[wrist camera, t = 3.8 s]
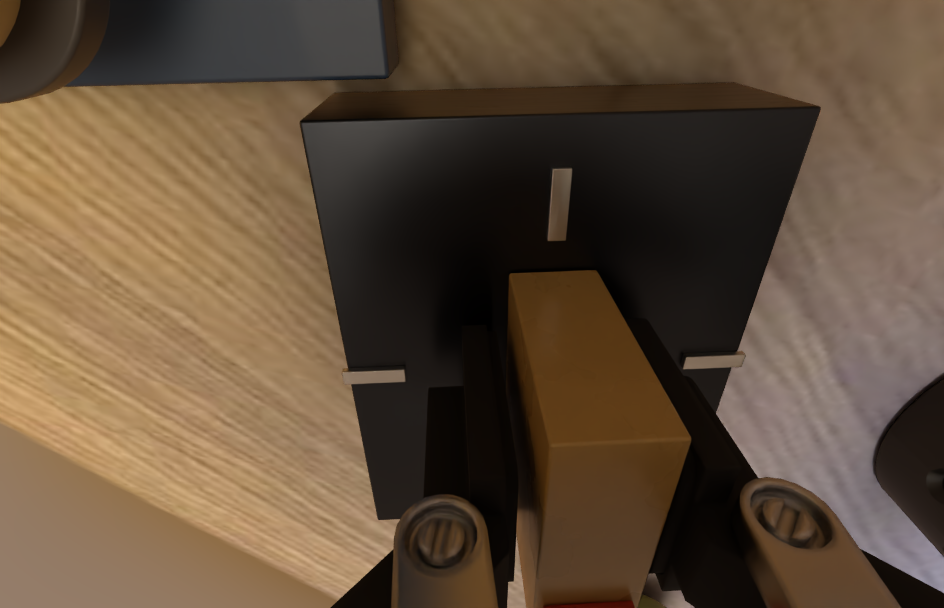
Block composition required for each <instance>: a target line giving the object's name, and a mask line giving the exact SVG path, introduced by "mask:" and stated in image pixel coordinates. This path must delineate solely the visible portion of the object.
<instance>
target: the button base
mask: <svg viewBox="0 0 944 608" xmlns="http://www.w3.org/2000/svg"><path fill="white" fill-rule="evenodd" d="M398 63H399V57H398V46H397V35H396V23H395V12H394V0H110V8H109V18H108V22H107V27H106V31H105V35H104V37H103V40H102V42H101V45H100V47H99V50H98V52H97V53H96V55H95V56H94V58H93V60H92V61H91V63H90V64H89V66H88V67H87V68H86V69H85V70H84V71H83V72H82V73H81V74H80V75H79V76H78V77H77V78H76V79H74V80H73V81H71V82H70V83H69V84H67V85H66V86H64V87H77V86H117V85H157V84H197V83H237V82H277V81H317V80H357V79H386V78H388V77H389V76H390V75H391V73H392V72H393V71H394V69H395V68H396V67H397V65H398Z"/></svg>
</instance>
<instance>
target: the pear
mask: <svg viewBox="0 0 944 608" xmlns="http://www.w3.org/2000/svg"><path fill="white" fill-rule="evenodd" d="M638 608H667V607H665V606H664V605H663V604H661V603H660V602H658V601H656V600H655V599H653V598H650V597H648V596H645V595H642V596H641V599H640V602H639V605H638Z"/></svg>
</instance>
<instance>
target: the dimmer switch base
mask: <svg viewBox="0 0 944 608" xmlns="http://www.w3.org/2000/svg"><path fill="white" fill-rule="evenodd" d="M820 110H821V107H820V106H817V105H813V104H810V103H806V102H803V101H799V100H795V99H792V98H788V97H785V96H781V95H777V94H774V93H770V92H767V91H763V90H759V89H756V88H752V87H749V86H745V85H741V84H738V83H734V82H731V83H692V84H654V85H615V86H576V87H537V88H498V89H459V90H421V91H382V92H343V93H334V94H332V95H331V96H330V97H329V98H328V99H326V100H325V101H324V102H323V103H322V104H320V105H319V106H318V107H317V108H315V109H314V110H313V111H312V112H311V113H309V114H308V115H307V116H306V117H304V118H303V119H302V120H301V121H300V128H301V133H302V138H303V143H304V148H305V153H306V158H307V163H308V168H309V173H310V178H311V183H312V188H313V193H314V198H315V204H316V209H317V214H318V219H319V224H320V229H321V234H322V239H323V244H324V249H325V254H326V259H327V264H328V269H329V274H330V280H331V285H332V290H333V295H334V300H335V305H336V310H337V315H338V320H339V325H340V330H341V335H342V340H343V345H344V350H345V355H346V361H347V366H348V368H343V370H342V376H343V381H344V384H351V386H352V391H353V396H354V401H355V406H356V411H357V416H358V421H359V426H360V431H361V436H362V442H363V447H364V452H365V457H366V462H367V467H368V472H369V477H370V482H371V487H372V492H373V497H374V502H375V507H376V512H377V518H378V520H389V519H401V517H402V515H403V514H404V513H405V512H406V511H407V510H408V509H409V508H410V507H411V506H412V505H413V504H414V503H416V502H418V501H420V500H422V499H423V496H424V473H425V450H426V427H427V404H428V389H429V387H449V386H464V382H463V353H462V326H468V325H486V326H487V331H496V332H497V338H498V344H499V350H500V357H501V363H502V370H503V376H504V382H505V389H506V368H507V331H508V293H509V275H510V274H511V273H531V272H557V271H584V270H596V271H597V272H598V274H599V275H600V277H601V279H602V281H603V282H604V284H605V286H606V288H607V290H608V291H609V293H610V295H611V297H612V298H613V300H614V302H615V304H616V305H617V307H618V309H619V311H620V313H621V314H622V316H623V318H624V319H639V318H645V319H647V320H648V321H649V322H650V324H651V326H652V327H653V329H654V330H655V332H656V333H657V335H658V337H659V338H660V340H661V341H662V343H663V344H664V346H665V348H666V349H667V351H668V352H669V354H670V355H671V357H672V358H673V360H674V362H675V363H676V365H677V366H678V368H679V369H680V371H681V373H682V374H683V376H688V377H690V378H692V379H693V381H694V382H695V383H696V384H697V386H698V387H699V389H700V390H701V392H702V394H703V395H704V397H705V398H706V400H707V401H708V403H709V404H710V406H711V407H712V409H713V410H714V412H715V413H716V411H717V408H718V405H719V402H720V399H721V397H722V394H723V391H724V388H725V385H726V382H727V379H728V376H729V373H730V371H731V368H732V367H742V364H743V361H744V359H745V356H746V355H745V353H744V352H743V351H737V350H738V347H739V344H740V342H741V339H742V336H743V333H744V330H745V327H746V324H747V321H748V318H749V315H750V313H751V310H752V307H753V304H754V301H755V298H756V295H757V292H758V289H759V287H760V284H761V281H762V278H763V275H764V272H765V269H766V266H767V263H768V260H769V258H770V255H771V252H772V249H773V246H774V243H775V240H776V237H777V234H778V232H779V229H780V226H781V223H782V220H783V217H784V214H785V211H786V208H787V205H788V203H789V200H790V197H791V194H792V191H793V188H794V185H795V182H796V179H797V176H798V174H799V171H800V168H801V165H802V162H803V159H804V156H805V153H806V150H807V148H808V145H809V142H810V139H811V136H812V133H813V130H814V127H815V124H816V121H817V119H818V116H819V113H820Z"/></svg>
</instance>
